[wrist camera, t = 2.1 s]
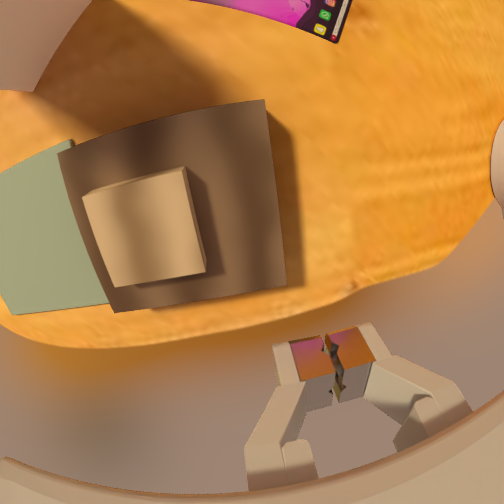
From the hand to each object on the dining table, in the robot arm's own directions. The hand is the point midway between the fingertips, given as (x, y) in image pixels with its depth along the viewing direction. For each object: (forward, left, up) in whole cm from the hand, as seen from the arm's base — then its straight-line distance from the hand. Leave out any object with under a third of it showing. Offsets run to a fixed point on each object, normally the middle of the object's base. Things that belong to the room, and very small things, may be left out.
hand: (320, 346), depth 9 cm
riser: (+7, 0, -19) cm, 20 cm away
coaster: (+9, 0, -15) cm, 18 cm away
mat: (+26, 0, -19) cm, 32 cm away
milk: (+20, -24, -19) cm, 37 cm away
